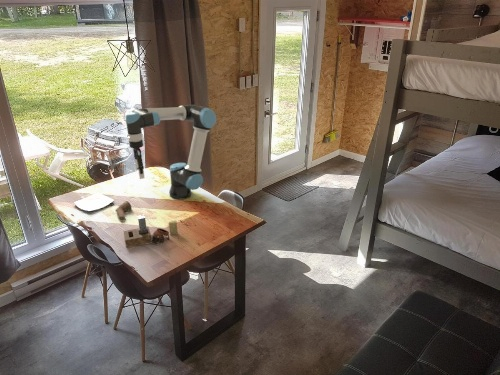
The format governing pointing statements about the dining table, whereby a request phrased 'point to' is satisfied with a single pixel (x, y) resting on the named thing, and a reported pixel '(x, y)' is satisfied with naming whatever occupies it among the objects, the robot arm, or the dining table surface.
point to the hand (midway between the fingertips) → (140, 173)
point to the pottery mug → (159, 233)
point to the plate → (94, 202)
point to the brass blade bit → (173, 227)
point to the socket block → (137, 237)
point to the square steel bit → (142, 224)
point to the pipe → (123, 210)
